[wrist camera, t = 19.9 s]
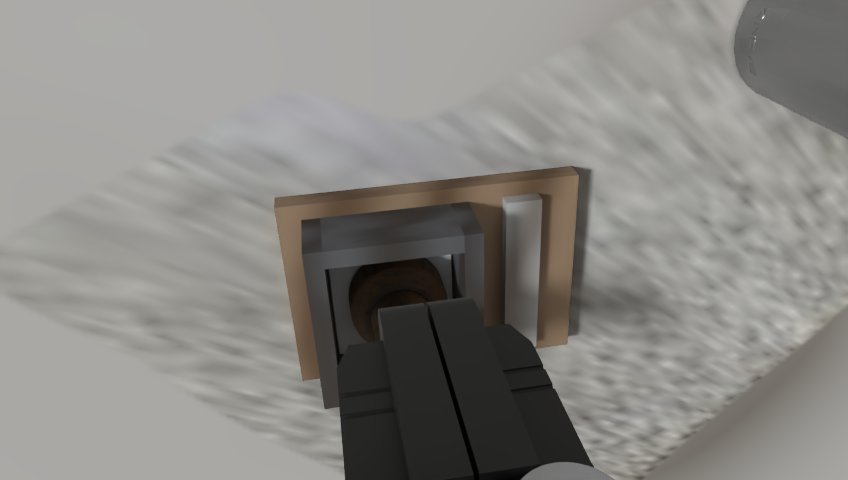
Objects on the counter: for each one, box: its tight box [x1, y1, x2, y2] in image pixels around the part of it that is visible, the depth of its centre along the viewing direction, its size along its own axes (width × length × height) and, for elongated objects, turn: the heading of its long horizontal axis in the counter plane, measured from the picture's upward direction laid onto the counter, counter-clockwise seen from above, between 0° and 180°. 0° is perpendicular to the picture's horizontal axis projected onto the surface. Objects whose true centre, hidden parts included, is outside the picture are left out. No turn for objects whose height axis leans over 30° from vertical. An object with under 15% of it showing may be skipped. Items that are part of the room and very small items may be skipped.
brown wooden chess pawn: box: [349, 258, 448, 343], centre depth 40 cm, size 7×6×18 cm
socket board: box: [274, 166, 579, 409], centre depth 47 cm, size 20×14×6 cm
